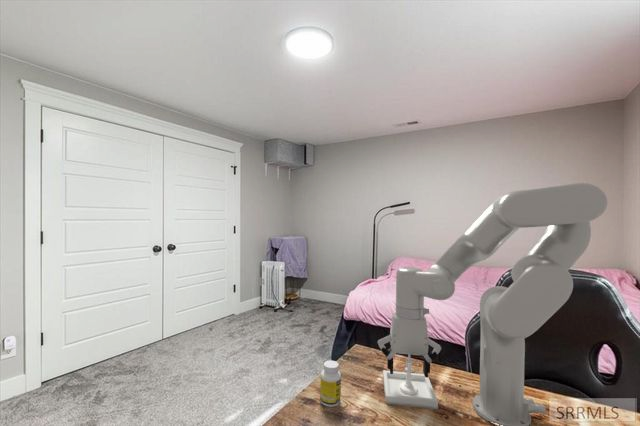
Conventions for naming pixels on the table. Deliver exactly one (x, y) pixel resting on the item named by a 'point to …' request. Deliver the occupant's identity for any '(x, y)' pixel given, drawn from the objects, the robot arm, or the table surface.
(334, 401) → the supplement bottle
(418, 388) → the tray
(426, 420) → the table surface
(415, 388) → the chess piece
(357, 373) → the table surface
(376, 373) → the table surface
